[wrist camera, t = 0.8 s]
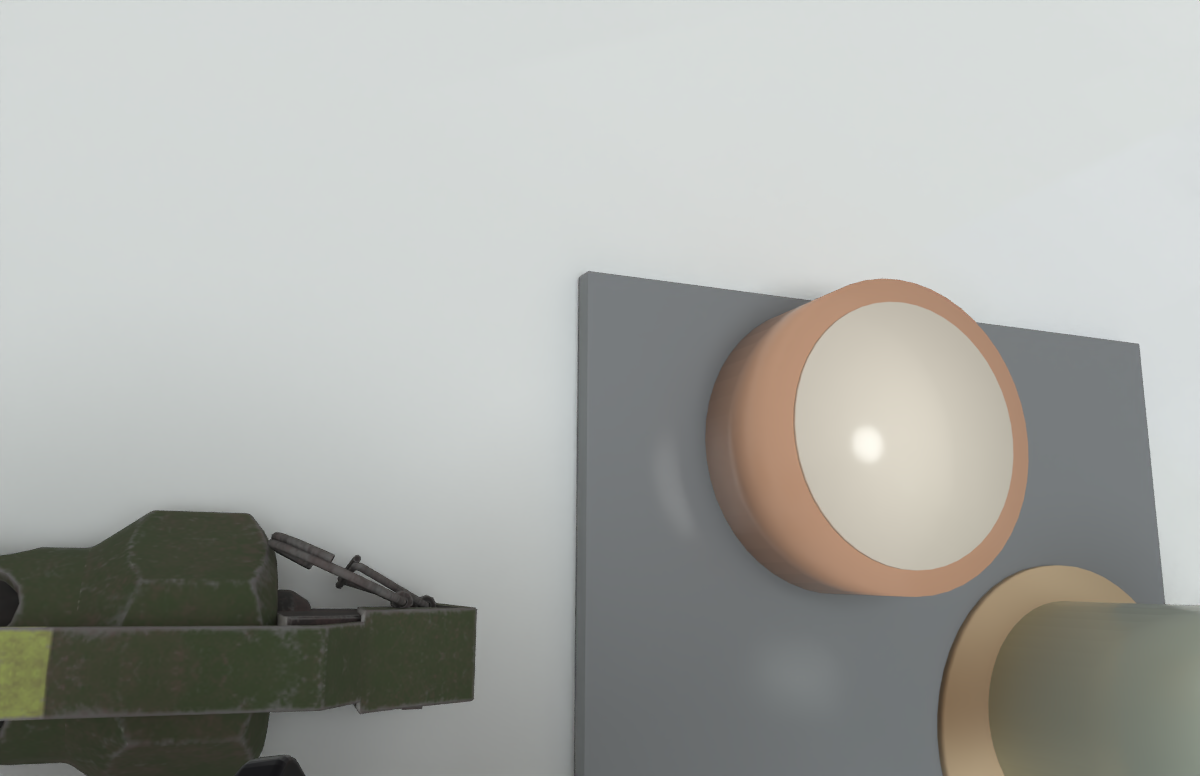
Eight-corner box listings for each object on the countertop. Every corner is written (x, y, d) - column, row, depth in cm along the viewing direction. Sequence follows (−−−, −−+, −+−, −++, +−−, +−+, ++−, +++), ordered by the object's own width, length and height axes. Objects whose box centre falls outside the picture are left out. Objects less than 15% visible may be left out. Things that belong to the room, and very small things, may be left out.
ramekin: (952, 593, 27) (1043, 596, 24) (707, 595, 24) (777, 597, 21) (935, 323, 28) (1020, 296, 25) (702, 293, 25) (768, 258, 23)
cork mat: (1192, 883, 28) (1202, 886, 28) (947, 923, 25) (956, 927, 25) (1161, 566, 30) (1170, 566, 30) (927, 563, 27) (935, 563, 26)
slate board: (1203, 1185, 28) (1224, 1197, 27) (568, 1398, 20) (579, 1421, 20) (1122, 347, 32) (1138, 343, 31) (579, 277, 25) (588, 270, 24)
